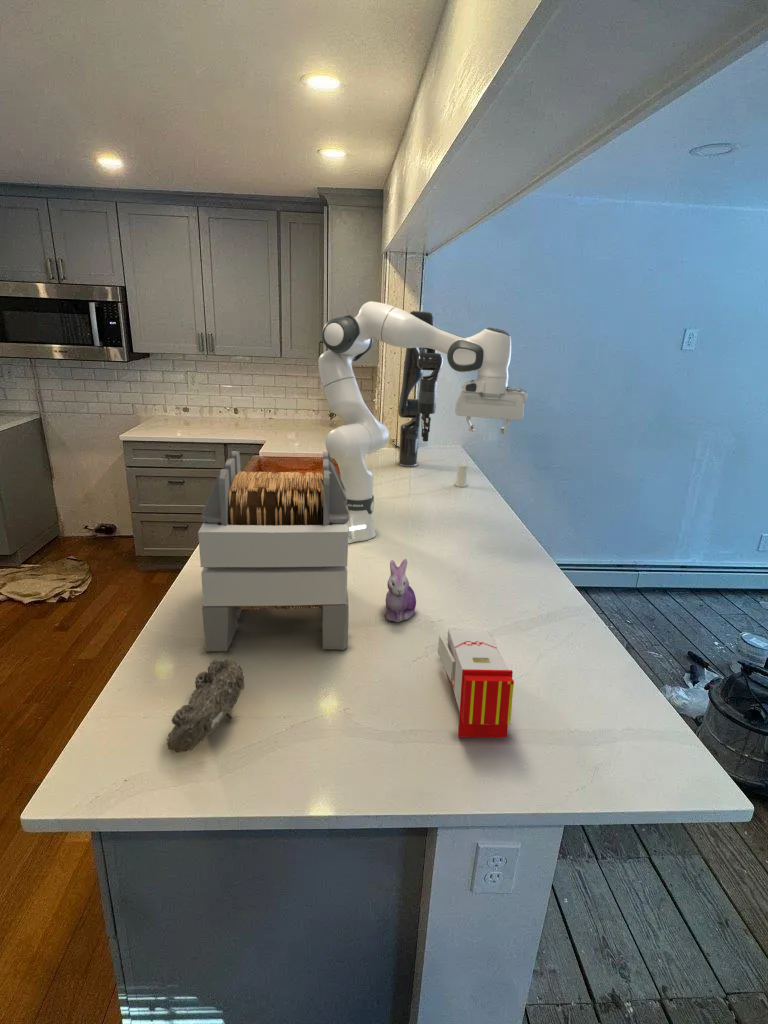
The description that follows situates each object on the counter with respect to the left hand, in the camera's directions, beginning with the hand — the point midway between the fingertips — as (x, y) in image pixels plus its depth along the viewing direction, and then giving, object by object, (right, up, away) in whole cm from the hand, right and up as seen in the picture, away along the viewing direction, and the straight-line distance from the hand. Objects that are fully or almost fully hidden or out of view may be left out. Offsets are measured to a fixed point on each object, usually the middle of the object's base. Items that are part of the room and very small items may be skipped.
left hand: (486, 432), depth 172 cm
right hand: (-14, +8, +74) cm, 76 cm away
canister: (+4, -12, +87) cm, 88 cm away
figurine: (-27, -51, -24) cm, 62 cm away
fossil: (-64, -63, -63) cm, 110 cm away
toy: (-13, -62, -53) cm, 82 cm away
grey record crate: (-57, -50, -27) cm, 81 cm away
